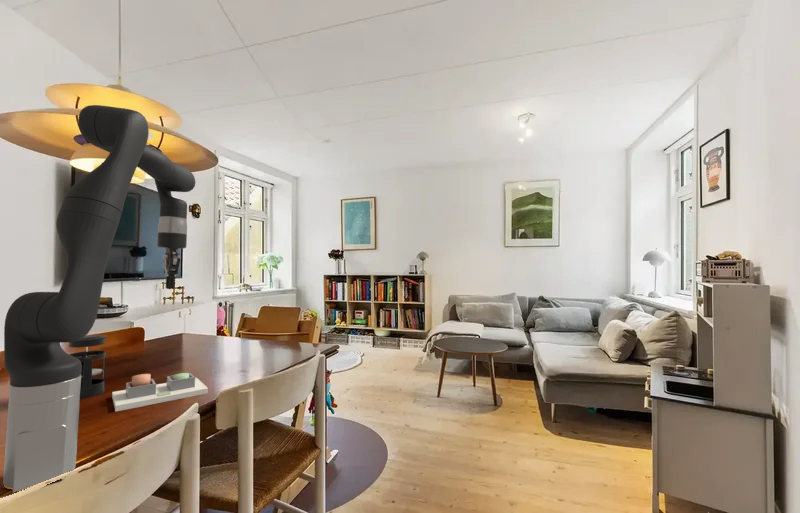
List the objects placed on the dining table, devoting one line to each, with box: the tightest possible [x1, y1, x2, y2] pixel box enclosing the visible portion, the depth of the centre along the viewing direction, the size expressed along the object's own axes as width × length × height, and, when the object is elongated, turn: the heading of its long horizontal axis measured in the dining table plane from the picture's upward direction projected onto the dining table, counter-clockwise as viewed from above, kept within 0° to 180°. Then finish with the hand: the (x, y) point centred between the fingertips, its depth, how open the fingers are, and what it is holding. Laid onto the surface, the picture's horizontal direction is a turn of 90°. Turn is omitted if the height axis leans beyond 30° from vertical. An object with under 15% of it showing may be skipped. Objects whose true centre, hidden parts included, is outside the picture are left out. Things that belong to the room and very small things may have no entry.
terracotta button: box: [131, 373, 152, 387], centre depth 101 cm, size 4×4×3 cm
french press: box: [68, 316, 108, 400], centre depth 104 cm, size 12×9×23 cm
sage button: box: [172, 372, 190, 380], centre depth 108 cm, size 4×4×3 cm
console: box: [111, 372, 209, 413], centre depth 104 cm, size 14×22×4 cm, turn 133°
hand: (170, 288), depth 107 cm, fingers closed
